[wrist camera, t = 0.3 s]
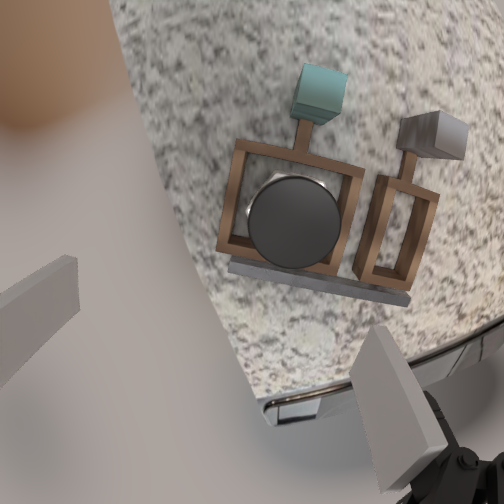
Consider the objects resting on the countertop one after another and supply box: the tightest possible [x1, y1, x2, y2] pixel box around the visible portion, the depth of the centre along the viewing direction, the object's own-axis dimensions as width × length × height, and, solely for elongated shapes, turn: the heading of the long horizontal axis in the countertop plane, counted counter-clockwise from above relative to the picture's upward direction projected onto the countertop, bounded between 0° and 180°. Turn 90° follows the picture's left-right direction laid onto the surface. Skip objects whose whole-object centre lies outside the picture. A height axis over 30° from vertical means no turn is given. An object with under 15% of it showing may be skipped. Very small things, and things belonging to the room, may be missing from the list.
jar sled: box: [216, 63, 365, 276], centre depth 30 cm, size 21×14×10 cm
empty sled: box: [352, 110, 469, 291], centre depth 30 cm, size 21×7×10 cm, turn 169°
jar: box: [246, 170, 341, 269], centre depth 31 cm, size 9×8×12 cm
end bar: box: [228, 255, 411, 307], centre depth 38 cm, size 2×25×2 cm, turn 79°
